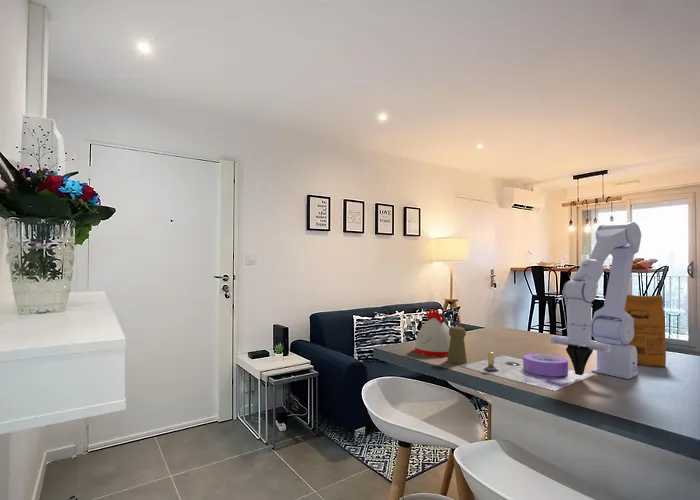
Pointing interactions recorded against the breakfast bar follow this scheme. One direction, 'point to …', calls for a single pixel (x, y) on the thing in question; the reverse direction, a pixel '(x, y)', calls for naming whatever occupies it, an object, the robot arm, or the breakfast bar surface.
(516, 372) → the light grey flat board
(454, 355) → the cork
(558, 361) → the masking tape
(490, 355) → the fixed brass pin
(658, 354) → the coffee package
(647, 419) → the breakfast bar surface
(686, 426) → the breakfast bar surface
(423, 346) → the kitchen timer
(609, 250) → the robot arm
